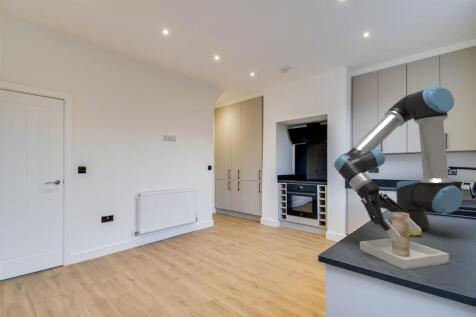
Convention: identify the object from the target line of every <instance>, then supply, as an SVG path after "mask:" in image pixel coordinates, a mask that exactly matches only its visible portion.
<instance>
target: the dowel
mask: <svg viewBox="0 0 476 317" xmlns="http://www.w3.org/2000/svg"><path fill="white" fill-rule="evenodd" d="M391 225H392V226H393V227H394V229H395V230H396V231H397V232H398V233H399V234H400V235H401V236H400V237H399V238H398V239H396V240H395V241H393V239H392V253H393V254H395V255H398V256H402V257H408V256H410V249H409V241H410V235H409V214H408V213H403V212H391Z"/></svg>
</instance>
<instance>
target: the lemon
mask: <svg viewBox="0 0 476 317" xmlns="http://www.w3.org/2000/svg"><path fill="white" fill-rule="evenodd" d="M418 227H419V226H418ZM419 228H420V227H419ZM422 233H423V231H421V230H420V231H419V232H417V233H416V234H413V232H412V231H411V230H410V229H409V236H411V237H419V235H420V234H422Z"/></svg>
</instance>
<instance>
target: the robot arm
mask: <svg viewBox="0 0 476 317" xmlns="http://www.w3.org/2000/svg"><path fill="white" fill-rule="evenodd" d="M454 105H455V98H454V96H453V94H452V91H450V90H448V88H446V87H444V86H440V85H439V86H438V85H437V86H432V87H427V88H425V89H422V90H420V91H417V92H414V93H410V94H408V95H406V96H404V97H402V98H401V99H399V100H398V101H397V102H395V103H394V104H393V105H392V106H391V107H390V108H389V109H388V110H387V111H386V112H385V113H384V116H383V118H382V119H380V121H378V122H377V124H376V125H374V126H373V128H372V129H371V130H369V131H368V132H367V133H366V134H365V135H364V136H363V137H362V138H361V139H360V140H359V141H358V142H357V143H356V144H355V145H354V146H353V147H352V148H351V149H350V150H349V151H347V153H345V152H344V153H342V154H340V155H339V157H338V158H336V159H335V161H334V163H333V166H334V168H335V170H336V171H337V172H338V174H339V175H340V176H341V177H342V178H343V180H345V181H346V183H347V184H348V185H349V186H350V187H351V189H352V190H353V191H354V192H356V194H357V196H358V197H359V198H360V202H361V203H362V204H363V206H364V208H365V210H366V213H367V214H368V217H369V218H370V220H371V222H372V223H374V224H375V225H376V226H377V225H379V226H380V227H381V228H382V229H383V230H384V231H385V233H387V235H388V236H389V238H392V239H393V241H395V240H396V239H398V238H399V237H400V236H401V235H400V234H399V233H398V232H397V231H396V230H395V229H394V227H393V226H392V223H390V222H389V221H388V219H387V218H385V219H384V215H383V211H382V209H386V210H387V211H389V212H391V213H392V212H403V213H408V214H409V229H410V230H411V231H412V232H413V234H416V233H417V232H419V231H420V230H421V231H422V232H429V231H431V230H432V225H431V223H430V220H429V217H428V215H427V211H428V210H429V211H433V212H435V213H443V214H444V213H445V214H451V213H454V212H456V211H457V210H458V209H459V208H460V206H461V204H462V203H463V199H464V198H463V197H464V196H463V192H462V191H461V190H460V188H459V187H457V186H455V185H454V179H451V178H450V177H449V171H448V170H449V169H448V160H447V148H446V135H445V125H444V121H445V120H446V119H447V118H448V117H449V116H448V115H449V114H448V112H450V111H451V110H452V109H453V107H454ZM411 120H413V121H414V123H416V124H418V130H419V131H418V132H419V144H420V153H421V154H420V155H421V165H422V167H421V168H422V178H421V179H420V180H405V181H403V180H401V181H398V182H397V183H396V188H395V191H396V201H395V200H393V199H392V198H390V196H389V195H387V194H386V193H384V194H381V193H379V192H380V190H381V189H380V187H379V186H378V185H377V184H376V183H375V182H374V181H373V180H372V179H371V178H370V176H368V174H366V172H369V171H372V170H374V169H376V168H379V167H381V166H383V165H384V164H385V162H386V157H385V155H384V152H382V151H381V150H380V149H378V147H379V146H380V145H381V143H383V142H384V141H385V140H386V139H387V138H389V136H390V135H391V134H392V133H393V132H394V131H395V130H396V129H397V128H399V127H402V126H403V125H404V124H406V123H407V122H408V121H411ZM418 226H419V227H420V228H419V227H418Z"/></svg>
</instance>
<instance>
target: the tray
mask: <svg viewBox="0 0 476 317" xmlns="http://www.w3.org/2000/svg"><path fill="white" fill-rule="evenodd" d="M409 249H410V256H408V257H402V256H398V255H395V254H393V253H392V238H391V237H388V238H381V239H379V238H378V239H372V240H364V241H363V240H362V241H359V250H360V251H362V252H364V253H366V254H368V255H371V256H373V257H375V258H378V259H379V260H382V261H384V262H386V263H388V264H391V265H392V266H395V267H397V268H400V269H401V270H404V271H408V270H414V269H420V268H421V269H422V268H427V267H432V266H434V267H435V266H441V265H444V264H449V263H450V254H449V253H448V252H446V251H445V252H444V251H442V250H439V249H435V248H433V247H429V246H427V245H423V244H420V243H417V242H413V241H412V240H411V241H410V240H409Z"/></svg>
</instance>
